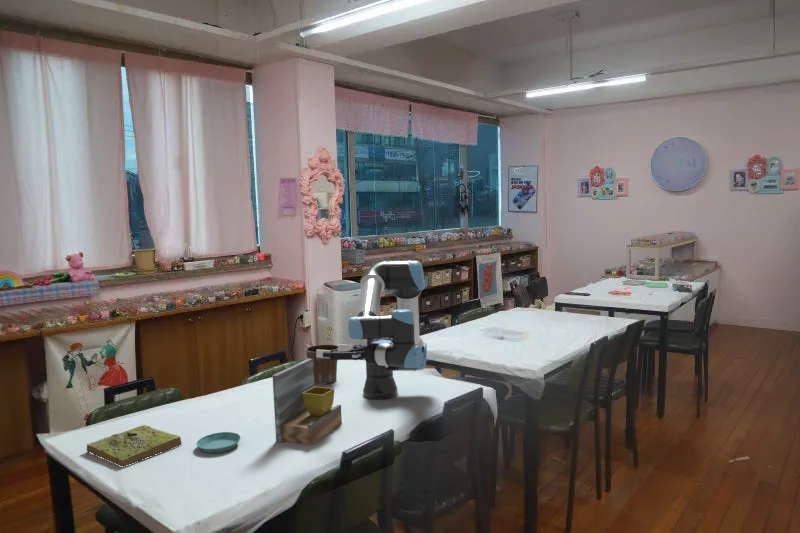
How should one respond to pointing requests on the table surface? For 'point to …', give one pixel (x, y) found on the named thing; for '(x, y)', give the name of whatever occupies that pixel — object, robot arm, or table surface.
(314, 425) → the book stand
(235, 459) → the table surface
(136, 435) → the miniature landscape model
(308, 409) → the flower pot
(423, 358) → the robot arm
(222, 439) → the saucer
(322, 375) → the plant pot
